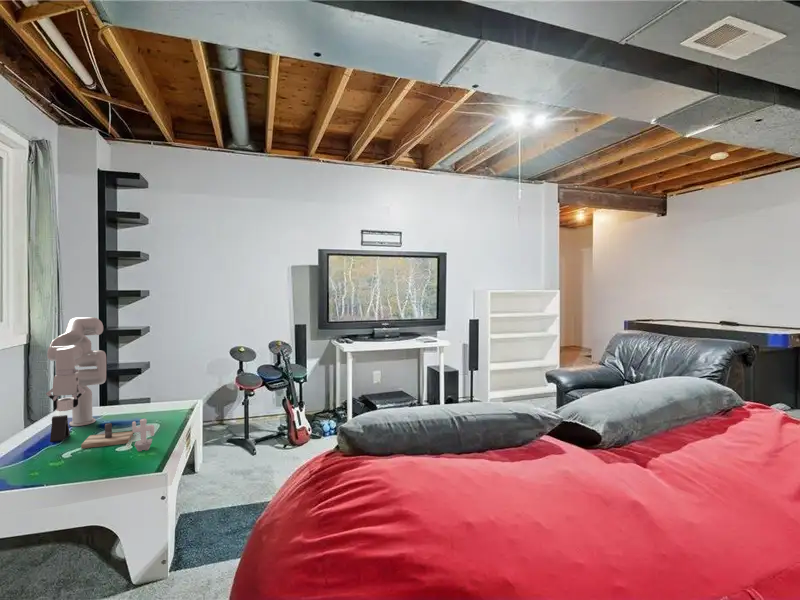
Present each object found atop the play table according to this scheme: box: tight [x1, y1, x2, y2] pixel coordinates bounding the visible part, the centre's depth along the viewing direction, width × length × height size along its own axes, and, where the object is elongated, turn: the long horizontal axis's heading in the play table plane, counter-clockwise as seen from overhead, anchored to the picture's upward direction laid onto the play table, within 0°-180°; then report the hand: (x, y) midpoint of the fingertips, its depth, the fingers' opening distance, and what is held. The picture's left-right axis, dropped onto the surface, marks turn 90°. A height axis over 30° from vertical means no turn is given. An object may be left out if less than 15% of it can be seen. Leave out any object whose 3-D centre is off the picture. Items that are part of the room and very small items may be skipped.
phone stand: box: [49, 414, 71, 442], centre depth 228 cm, size 9×6×12 cm, turn 21°
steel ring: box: [56, 396, 76, 412], centre depth 217 cm, size 7×7×5 cm
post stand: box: [80, 422, 135, 449], centre depth 224 cm, size 14×20×9 cm
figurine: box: [131, 418, 155, 452], centre depth 213 cm, size 7×9×15 cm
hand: (66, 407), depth 217 cm, fingers closed on steel ring, 7 cm apart
